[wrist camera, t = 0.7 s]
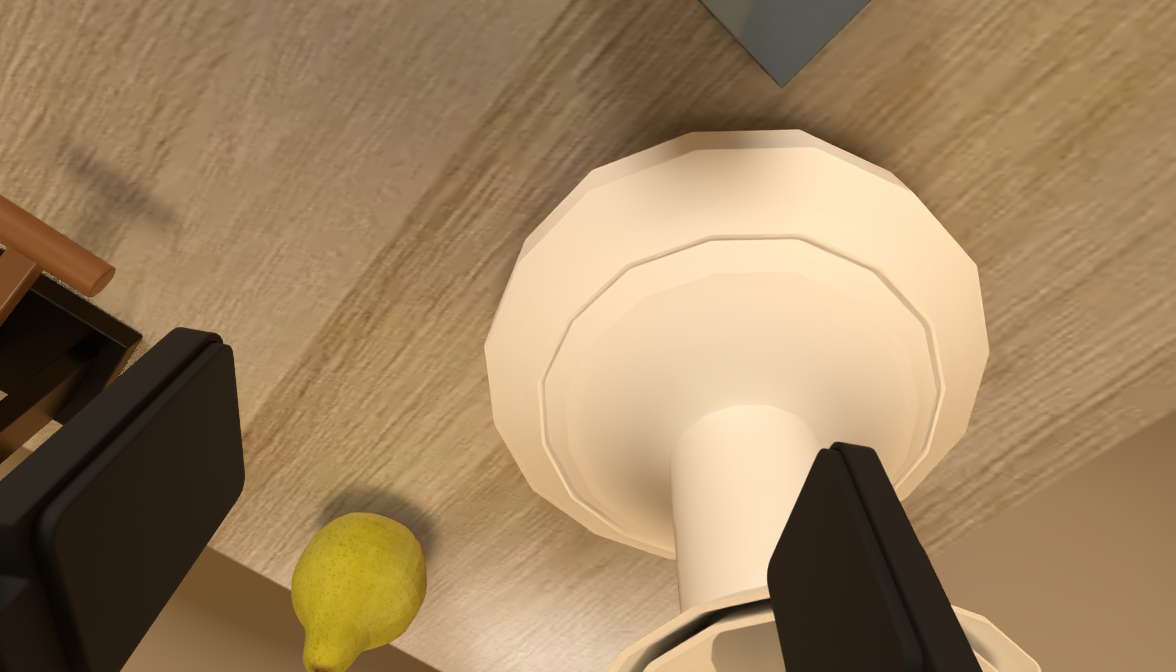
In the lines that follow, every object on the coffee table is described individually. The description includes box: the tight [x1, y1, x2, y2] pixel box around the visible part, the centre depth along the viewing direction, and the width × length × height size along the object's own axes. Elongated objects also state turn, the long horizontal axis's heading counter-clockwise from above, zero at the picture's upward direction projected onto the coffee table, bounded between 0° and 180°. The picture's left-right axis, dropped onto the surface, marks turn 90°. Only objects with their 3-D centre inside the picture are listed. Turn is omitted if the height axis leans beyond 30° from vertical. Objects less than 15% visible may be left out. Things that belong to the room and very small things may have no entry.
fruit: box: [292, 512, 427, 672], centre depth 35 cm, size 7×7×12 cm
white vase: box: [484, 130, 1041, 672], centre depth 24 cm, size 20×20×19 cm
